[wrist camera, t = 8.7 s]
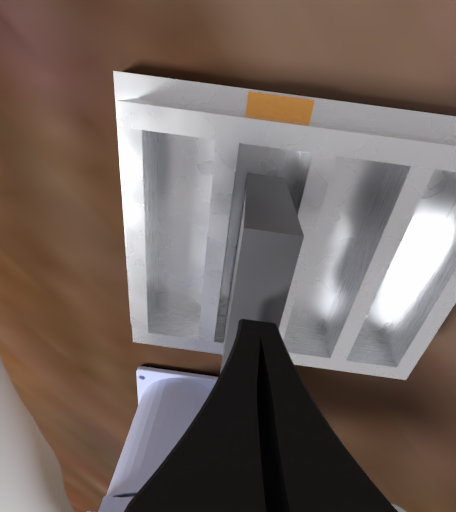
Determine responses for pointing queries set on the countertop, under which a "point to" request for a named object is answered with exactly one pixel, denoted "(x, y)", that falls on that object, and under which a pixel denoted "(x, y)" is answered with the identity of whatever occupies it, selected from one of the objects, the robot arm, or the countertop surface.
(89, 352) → the countertop surface
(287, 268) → the panel
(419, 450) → the countertop surface
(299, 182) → the rack
